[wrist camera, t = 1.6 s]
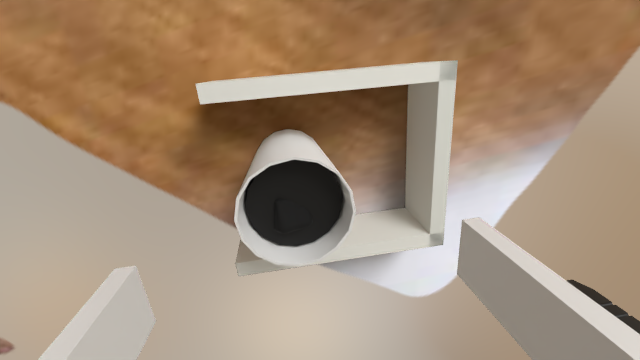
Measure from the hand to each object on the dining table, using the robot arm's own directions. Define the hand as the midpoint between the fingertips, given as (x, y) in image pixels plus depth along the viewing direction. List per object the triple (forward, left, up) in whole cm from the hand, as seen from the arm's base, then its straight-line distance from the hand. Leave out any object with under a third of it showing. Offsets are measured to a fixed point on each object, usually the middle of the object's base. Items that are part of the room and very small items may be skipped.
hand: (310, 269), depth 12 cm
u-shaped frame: (0, +3, -15) cm, 15 cm away
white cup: (0, 0, -15) cm, 15 cm away
